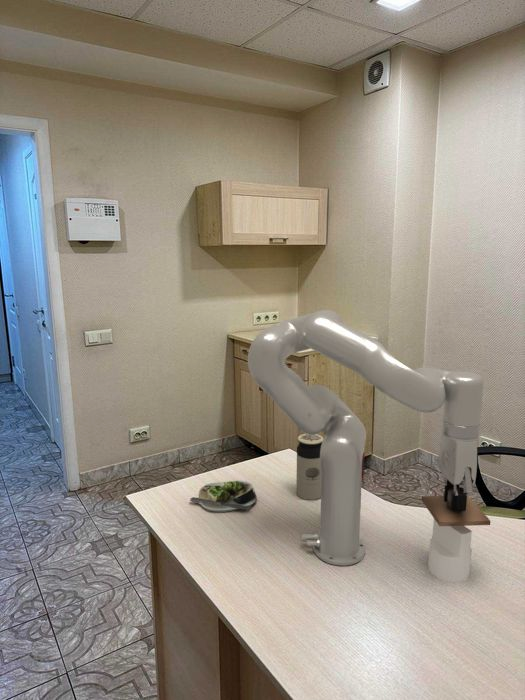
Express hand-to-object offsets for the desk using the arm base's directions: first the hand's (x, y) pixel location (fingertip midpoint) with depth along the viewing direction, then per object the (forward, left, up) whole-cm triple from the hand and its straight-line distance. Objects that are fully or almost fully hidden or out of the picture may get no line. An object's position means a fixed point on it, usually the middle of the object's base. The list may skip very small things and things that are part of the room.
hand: (454, 505), depth 111 cm
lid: (0, 0, -2) cm, 2 cm away
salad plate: (-52, +34, -17) cm, 65 cm away
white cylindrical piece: (0, 0, -17) cm, 17 cm away
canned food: (-14, +44, -17) cm, 49 cm away
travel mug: (-28, +36, -17) cm, 49 cm away
